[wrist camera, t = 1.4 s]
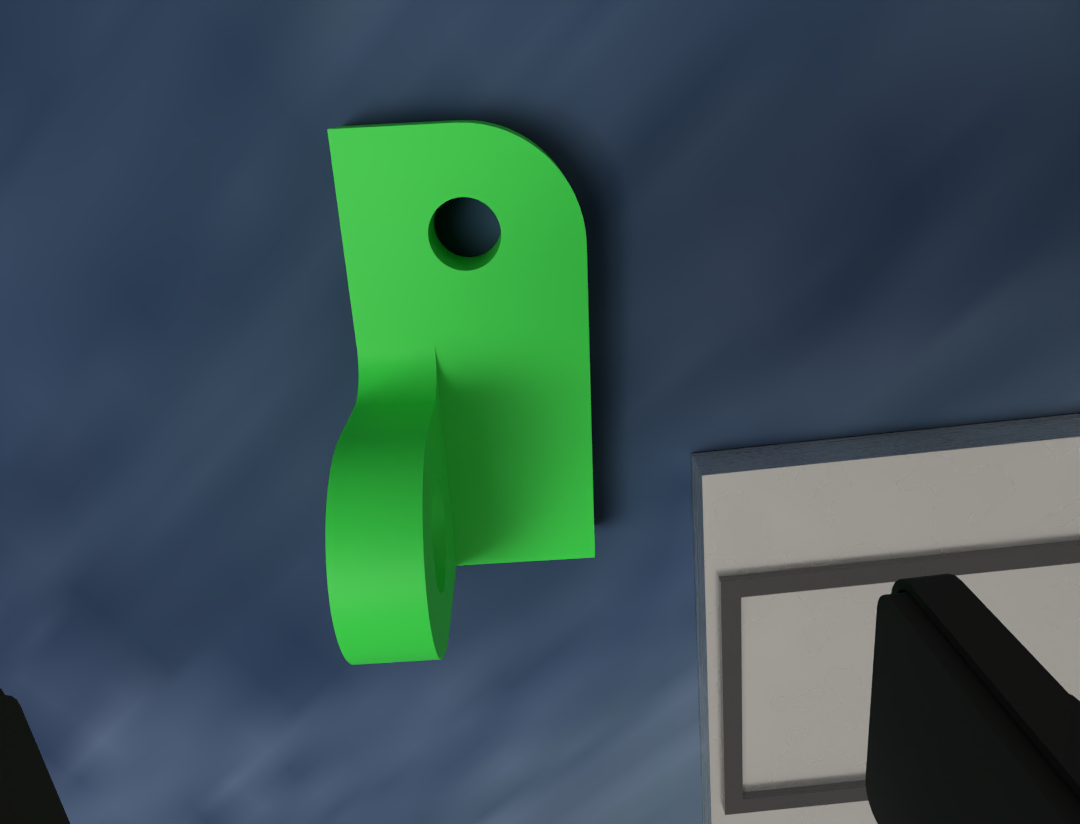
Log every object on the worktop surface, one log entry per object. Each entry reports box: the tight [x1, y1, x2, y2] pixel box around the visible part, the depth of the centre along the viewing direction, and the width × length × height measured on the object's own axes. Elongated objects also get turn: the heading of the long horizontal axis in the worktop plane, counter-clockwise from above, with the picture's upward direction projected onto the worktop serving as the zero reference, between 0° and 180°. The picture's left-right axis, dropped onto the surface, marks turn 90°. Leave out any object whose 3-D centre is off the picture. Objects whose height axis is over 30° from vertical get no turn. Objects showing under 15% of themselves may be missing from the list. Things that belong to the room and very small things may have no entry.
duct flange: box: [691, 413, 1080, 824], centre depth 27 cm, size 16×16×2 cm
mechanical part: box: [326, 120, 595, 665], centre depth 20 cm, size 12×6×8 cm, turn 3°
